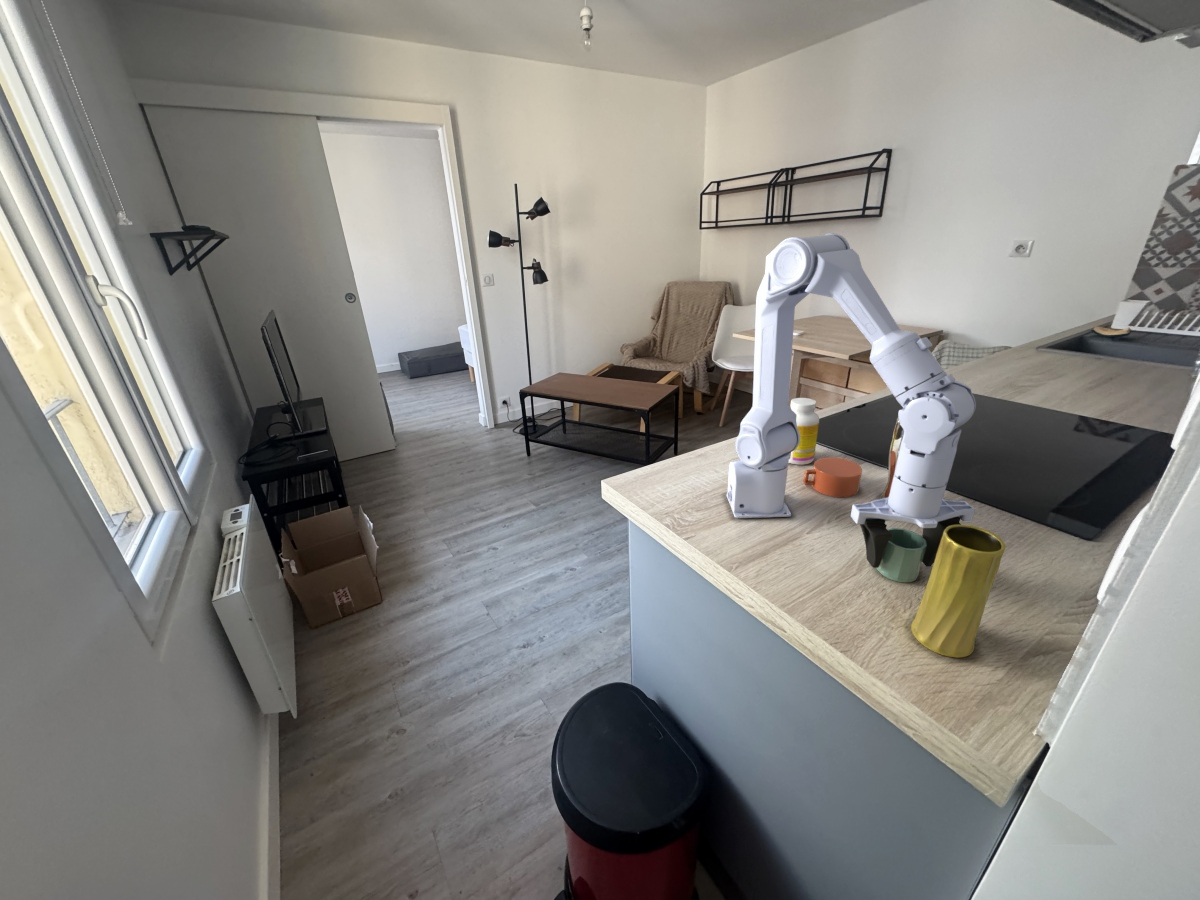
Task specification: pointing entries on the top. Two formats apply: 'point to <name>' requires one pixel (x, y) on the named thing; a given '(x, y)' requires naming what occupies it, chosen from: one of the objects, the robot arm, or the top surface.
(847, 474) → the mug
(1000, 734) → the top surface
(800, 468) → the top surface
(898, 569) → the green faceted cup
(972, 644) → the vase
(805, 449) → the supplement bottle
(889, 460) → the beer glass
